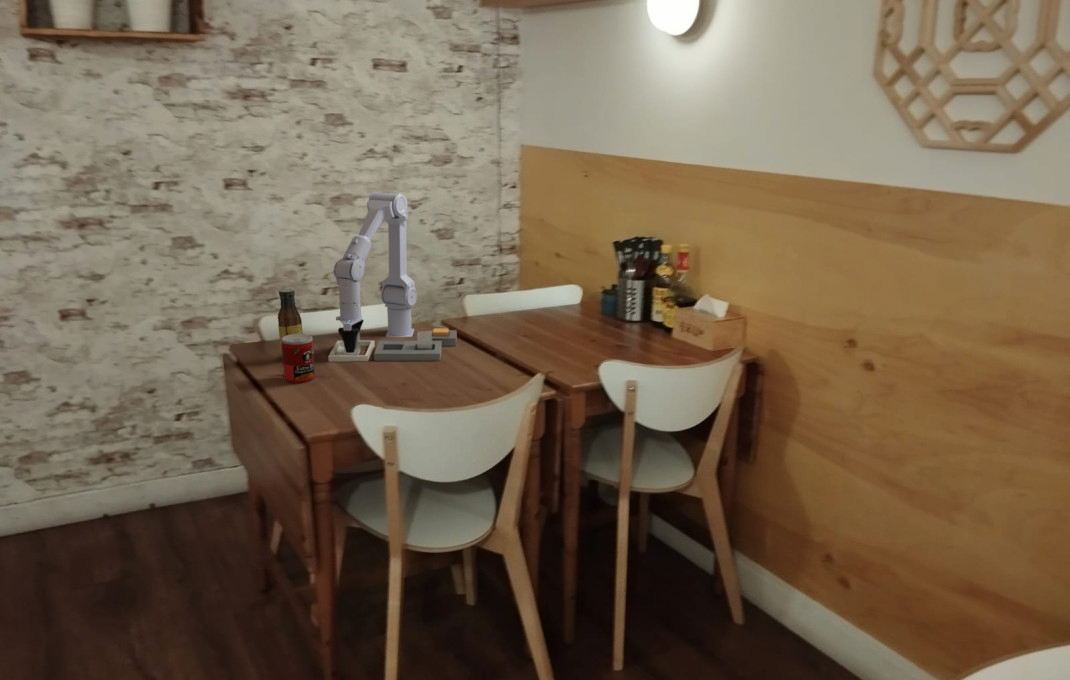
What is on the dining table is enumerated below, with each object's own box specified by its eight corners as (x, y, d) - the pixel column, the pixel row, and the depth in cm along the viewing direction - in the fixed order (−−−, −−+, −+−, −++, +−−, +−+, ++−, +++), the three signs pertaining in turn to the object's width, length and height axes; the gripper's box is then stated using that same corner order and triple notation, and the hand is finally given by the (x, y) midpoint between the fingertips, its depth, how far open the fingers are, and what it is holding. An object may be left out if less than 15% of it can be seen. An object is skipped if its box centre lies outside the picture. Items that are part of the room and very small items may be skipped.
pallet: (379, 349, 241) (379, 340, 241) (442, 349, 243) (441, 340, 242) (374, 362, 229) (373, 353, 228) (440, 362, 230) (439, 353, 230)
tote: (337, 347, 243) (337, 340, 242) (374, 347, 244) (374, 340, 243) (328, 363, 228) (328, 356, 227) (367, 363, 229) (367, 356, 228)
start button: (433, 338, 250) (433, 328, 249) (448, 338, 250) (448, 328, 249) (433, 342, 245) (433, 332, 245) (448, 342, 246) (448, 332, 245)
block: (418, 351, 238) (418, 331, 236) (432, 351, 238) (432, 331, 236) (417, 355, 234) (417, 335, 232) (431, 355, 234) (431, 335, 233)
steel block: (346, 351, 237) (345, 330, 236) (360, 351, 238) (359, 330, 236) (344, 355, 234) (343, 334, 232) (358, 355, 234) (357, 334, 232)
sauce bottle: (308, 357, 233) (304, 288, 227) (300, 364, 227) (295, 292, 221) (285, 356, 233) (281, 287, 228) (276, 363, 227) (272, 291, 222)
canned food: (297, 385, 210) (294, 343, 207) (277, 379, 214) (274, 338, 211) (321, 378, 215) (319, 337, 212) (301, 372, 220) (299, 332, 217)
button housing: (426, 339, 252) (426, 330, 251) (456, 339, 253) (456, 330, 252) (424, 348, 243) (424, 338, 242) (455, 348, 244) (455, 338, 243)
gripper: (339, 296, 238) (341, 341, 242) (331, 308, 224) (333, 356, 228) (364, 296, 239) (366, 341, 242) (357, 308, 225) (359, 356, 228)
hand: (352, 348), depth 235 cm, fingers open, 6 cm apart
